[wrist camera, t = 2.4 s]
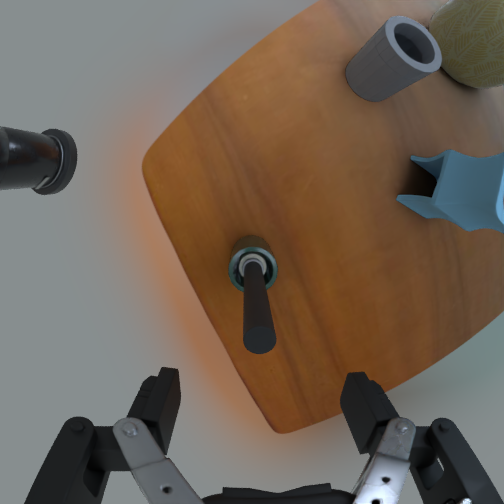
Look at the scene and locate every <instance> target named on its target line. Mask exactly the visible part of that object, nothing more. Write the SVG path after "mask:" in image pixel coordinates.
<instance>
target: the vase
mask: <svg viewBox="0 0 504 504" xmlns="http://www.w3.org/2000/svg"><path fill="white" fill-rule="evenodd" d="M428 31H429V32H430V34H431V35H432V36H433V37H434V39H435V40H436V42H437V44H438V46H439V48H440V51H441V56H442V62H441V67H442V68H443V69H444V70H445V71H446V72H447V73H448V74H449V75H450V76H451V77H452V78H453V79H455V80H456V81H458V82H459V83H461V84H464V85H467V86H470V87H474V88H478V89H489V88H493V87H498V86H501V85H504V0H450V1H448V2H447V3H446V4H444V5H443V6H442V7H441V8H440V9H439V10H437V11H436V12H435V13H434V15H433V16H432V18H431V20H430V24H429V28H428Z"/></svg>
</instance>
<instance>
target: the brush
mask: <svg viewBox="0 0 504 504" xmlns="http://www.w3.org/2000/svg"><path fill="white" fill-rule="evenodd" d="M266 268H267V266H266V261H265V258H264V254H262V253H260V252H255V251H250V252H247V253H244V254H242V255H241V256H240V258H239V271H240V273H241V275H242V276H243V277H244V318H243V342H244V345H245V347H246V348H247V350H249V351H250V352H252V353H255V354H264V353H267V352H269V351H270V350H272V349H273V347H274V346H275V344H276V334H275V329H274V324H273V320H272V315H271V310H270V305H269V300H268V295H267V291H266V286H265V281H264V276H263V275H264V274H265V272H266Z"/></svg>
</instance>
